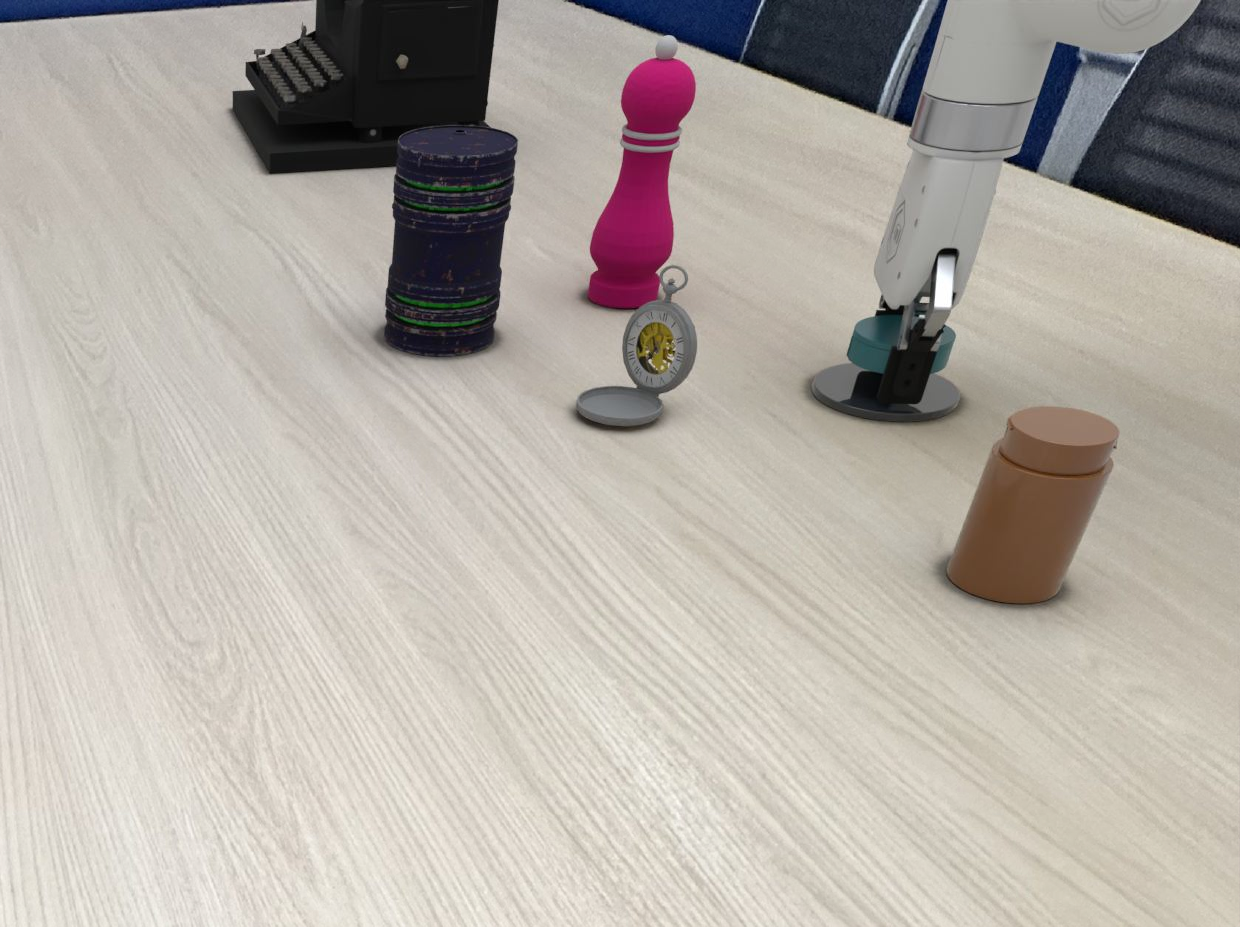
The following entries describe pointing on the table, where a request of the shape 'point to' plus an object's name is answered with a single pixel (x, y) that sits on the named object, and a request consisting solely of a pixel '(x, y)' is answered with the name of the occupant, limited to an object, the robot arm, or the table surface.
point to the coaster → (860, 387)
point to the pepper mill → (642, 183)
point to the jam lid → (889, 343)
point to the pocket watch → (647, 362)
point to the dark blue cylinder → (448, 238)
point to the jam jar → (1033, 504)
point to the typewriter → (368, 81)
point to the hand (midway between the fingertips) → (890, 381)
